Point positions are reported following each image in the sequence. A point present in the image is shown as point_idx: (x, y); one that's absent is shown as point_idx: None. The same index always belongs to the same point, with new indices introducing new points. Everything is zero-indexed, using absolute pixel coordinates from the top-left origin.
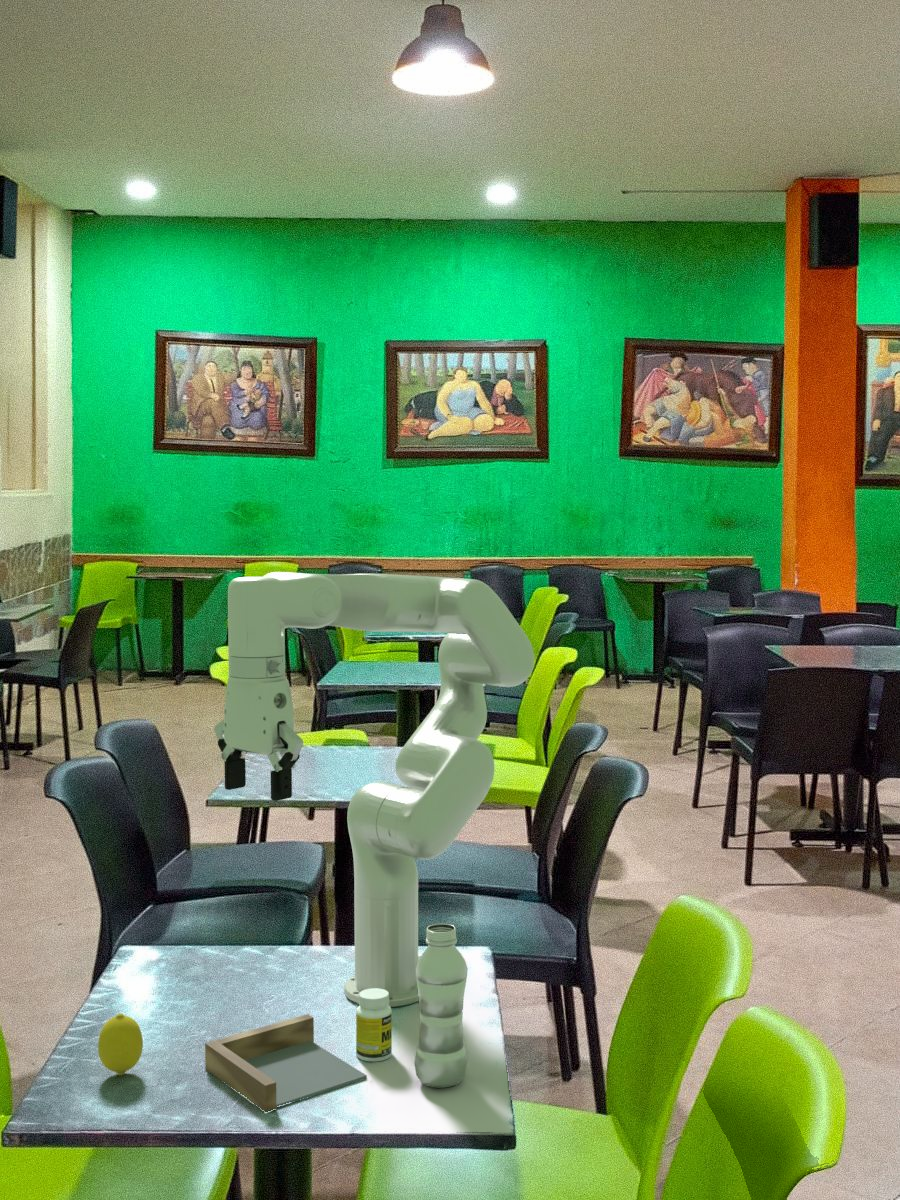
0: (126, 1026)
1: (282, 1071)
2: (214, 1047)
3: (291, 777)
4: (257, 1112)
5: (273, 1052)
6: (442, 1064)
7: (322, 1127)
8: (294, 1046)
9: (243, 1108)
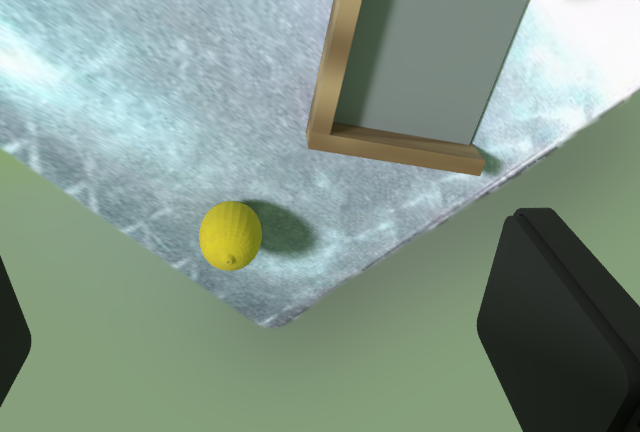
0: (249, 255)
1: (410, 70)
2: (331, 148)
3: (635, 306)
4: None
5: None
6: None
7: (549, 135)
8: None
9: None
